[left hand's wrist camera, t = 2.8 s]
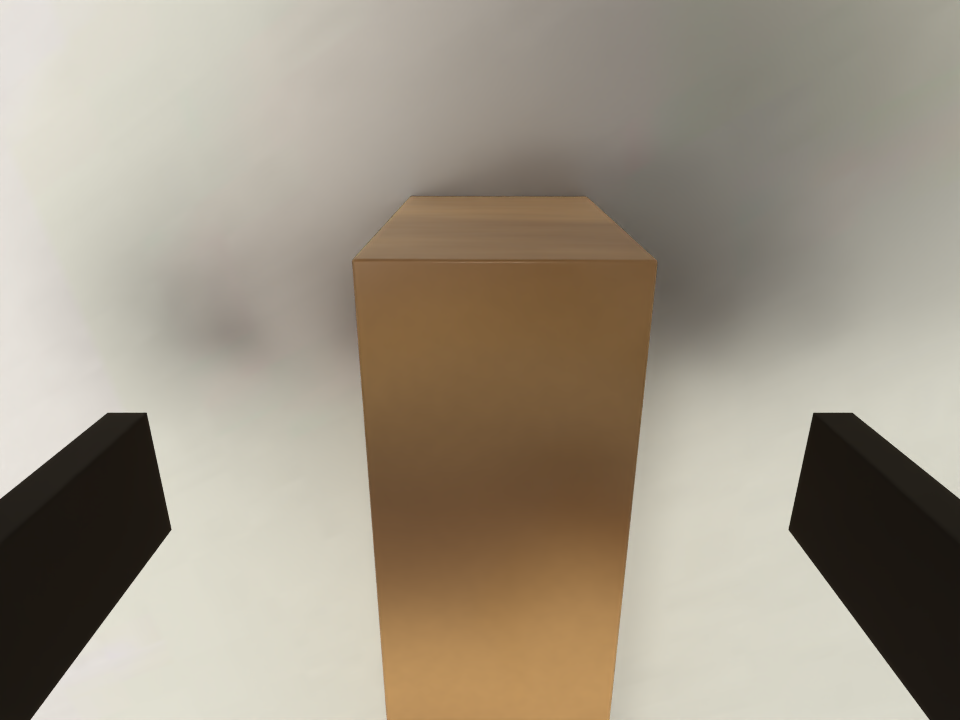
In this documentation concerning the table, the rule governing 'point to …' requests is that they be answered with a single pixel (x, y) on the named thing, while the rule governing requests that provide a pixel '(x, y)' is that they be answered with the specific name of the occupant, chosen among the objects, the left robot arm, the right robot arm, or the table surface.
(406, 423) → the bar
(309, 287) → the table surface
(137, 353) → the table surface
